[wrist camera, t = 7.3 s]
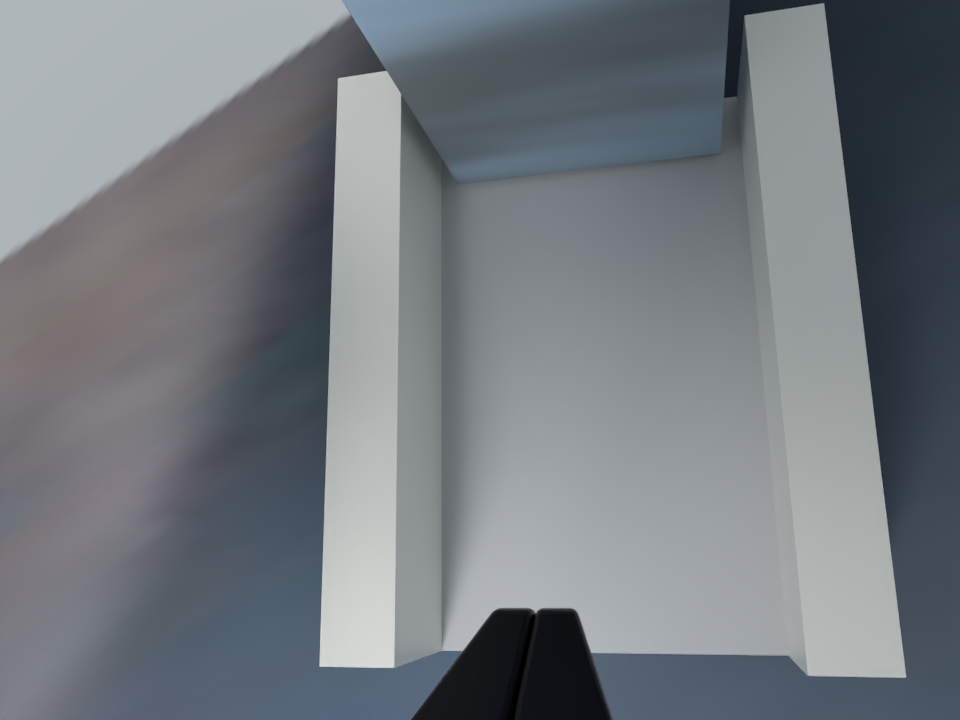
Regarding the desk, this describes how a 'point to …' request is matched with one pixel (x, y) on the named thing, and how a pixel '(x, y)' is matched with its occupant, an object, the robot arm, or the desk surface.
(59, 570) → the desk surface
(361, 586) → the chute
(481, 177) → the block
